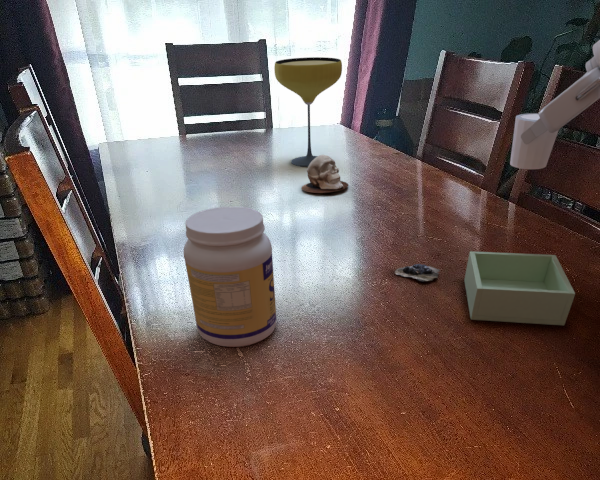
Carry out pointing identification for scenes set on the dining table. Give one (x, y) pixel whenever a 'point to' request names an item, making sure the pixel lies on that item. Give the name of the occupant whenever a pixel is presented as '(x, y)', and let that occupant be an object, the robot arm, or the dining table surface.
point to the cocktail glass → (308, 85)
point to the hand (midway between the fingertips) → (530, 134)
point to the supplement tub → (230, 275)
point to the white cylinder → (530, 144)
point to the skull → (323, 176)
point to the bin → (517, 288)
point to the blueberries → (418, 272)
